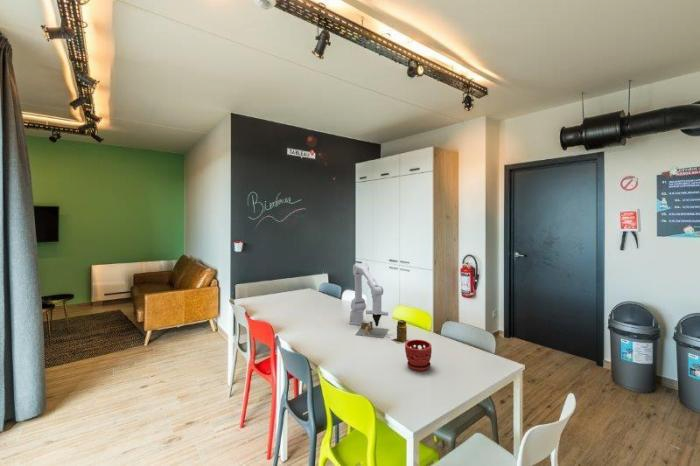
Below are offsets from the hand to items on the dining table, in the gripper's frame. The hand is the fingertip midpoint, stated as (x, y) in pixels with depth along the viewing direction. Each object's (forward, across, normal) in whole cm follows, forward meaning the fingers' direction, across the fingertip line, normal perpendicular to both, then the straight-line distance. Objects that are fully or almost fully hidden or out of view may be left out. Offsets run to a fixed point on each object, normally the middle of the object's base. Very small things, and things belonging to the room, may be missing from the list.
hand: (376, 325), depth 209 cm
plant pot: (+6, +30, -38) cm, 49 cm away
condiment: (+6, +16, -5) cm, 18 cm away
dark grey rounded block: (+6, -9, +8) cm, 13 cm away
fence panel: (+6, -6, +2) cm, 9 cm away
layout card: (+6, -4, +4) cm, 8 cm away
